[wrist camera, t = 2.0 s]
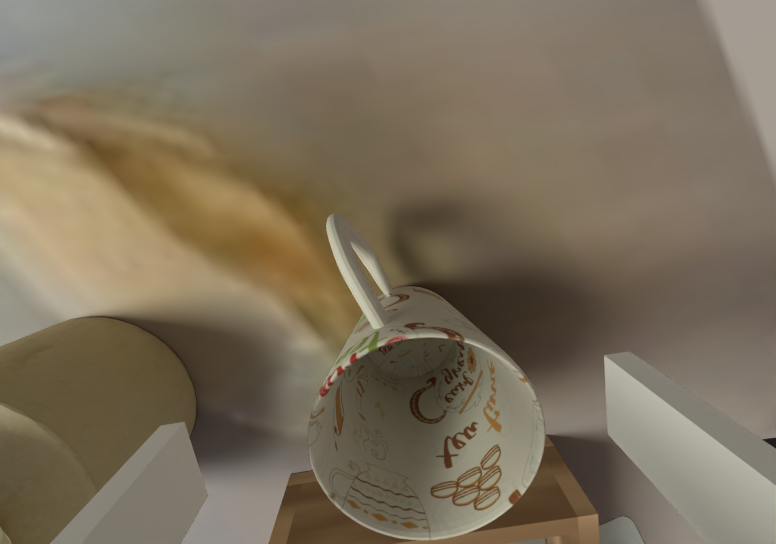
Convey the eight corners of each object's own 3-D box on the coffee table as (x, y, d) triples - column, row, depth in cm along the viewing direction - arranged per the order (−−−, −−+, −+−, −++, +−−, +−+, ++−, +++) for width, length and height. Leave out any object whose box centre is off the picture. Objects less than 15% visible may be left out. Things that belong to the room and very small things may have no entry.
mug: (382, 416, 24) (380, 574, 14) (274, 246, 22) (184, 299, 12) (500, 357, 23) (583, 483, 14) (402, 173, 21) (419, 165, 11)
